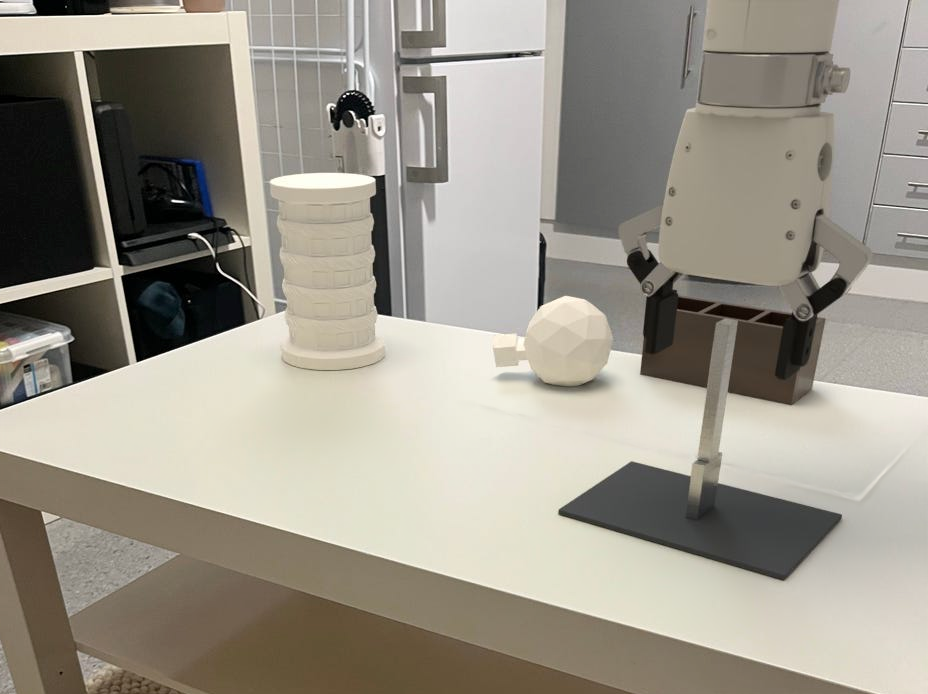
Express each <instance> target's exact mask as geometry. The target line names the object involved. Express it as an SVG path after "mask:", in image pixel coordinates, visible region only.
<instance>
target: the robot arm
mask: <svg viewBox="0 0 928 694" xmlns="http://www.w3.org/2000/svg"><path fill="white" fill-rule="evenodd" d="M839 4H840V0H707V5H706V12H705V22H704V29H703V30H704V31H703V38H702V39H703V40H702V48H701V56H700V65H699V75H698V82H697V92H696V102H695V107H692V108H688V109H686V111H685V114H684V117H683V120H682V124H681V127H680V130H679V133H678V137H677V140H676V144H675V148H674V151H673V154H672V159H671V163H670V168H669V174H668V178H667V182H666V186H665V187H666V188H665V193H664V197H663V203H661V204H659V205H657V206H654V207H653V208H650V209H649V210H646V211H644V212H642V213H640V214H638V215H636V216H634V217H631V218H629V219H627V220H625V221H623V222H621V223H619V226H618V227H617V233H618V236H619V239H620V242H621V245H622V248H623V251H624V254H626V257H627V258H626V264H627V267H628V268H629V270H630V271H631V273H632V274H633V276H634V278H636V280H637V282H638V283H639V289H640V292H641V294H642V295H643V296H645V297H646V299H645V308H644V319H643V329H642V336H643V339H644V338H646V348H645V352H646V354H651V355H654V354H656V353H658V352H660V351H662V350H664V349H666V348H668V347H670V346H671V345H672V344H673V338H674V330H675V321H676V312H677V304H678V295H679V293H678V289H674V284H675V283H676V282H677V281H678V280H679V279H680V277H682V276H683V275H688V276H689V275H690V276H697V277H703V278H708V279H717V280H722V281H723V280H724V281H731V282H736V283H737V282H738V283H743V284H751V285H757V286H758V285H760V286H765V287H766V286H768V287H778V289H779V290H780V293H781V294H782V296H783V298H784V299H785V301H786V303H787V305H788V307H789V308H790V310H791V313H792V315H791V317H790V318H788V319H787V320H785V322H784V325H783V330H782V336H781V342H780V347H779V353H778V359H777V365H776V371H775V376H776V377H777V379H781V380H786V379H788V378H789V377H791V376H792V375H794V374H795V373H796V372H798V371H799V370H800V368H801V367H803V366H805V365H806V364H807V362H808V360H809V357H810V352H811V347H812V342H813V337H814V331H815V326H816V321H817V317H818V315H819V314H820V313H822V312H823V311H824V310H826V309H827V308H828V307H830V306H831V305H832V304H834V303H835V302H836V301H838V300H839V299H841V298H842V297H843V296H845V295H846V294H847V293H849V292H850V290H851V288H852V287H853V286H854V284H855V283H856V282H857V281H858V279H859V278H860V277H861V275H862V274H863V272H864V271H865V270H866V269H867V267H869V265H870V263H871V262H872V261H873V259H874V252H873V250H872V249H871V248H870V247H868V246H867V245H866V244H864V243H863V242H861V241H860V240H858V239H857V238H856V237H855V236H853V235H852V234H851V233H849V232H848V231H846V230H845V229H843V228H842V226H840V225H839V224H837V223H836V222H834V221H833V220H832V219H830V218H829V216H830V215H829V214H830V204H831V196H832V195H831V194H832V185H833V184H832V183H833V172H834V170H833V169H834V154H835V150H834V149H835V117H834V116H835V115H834V113H833V112H829V111H821V107H822V104H823V103H825V102H826V99H827V97H828V96H832V95H833V94H845V93H846V91H847V89H848V87H849V84H850V79H851V69H850V67H840V66H838V64H834V61H833V60H834V59H833V58H834V53H831V52H830V51H831V50H832V44H833V40H834V39H833V38H834V33H835V27H836V21H837V15H838V10H839ZM657 228H659V233H658V234H659V235H658V260H659V261H658V260H657V258H656V257H655V255H654V254H653V252H652V251H651V250H650V249H649V248H648V242H647V234H648V233H649V232H651V231H653V230H655V229H657ZM824 250H825V251H826V252H828V253H829V254H831V255H832V256H833V257H834V258H835V259H837V260H838V264H839V265H838V268H837V269H836V271H835V273H834V274H833V276H832V277H831V278H830V280H829V281H827V282H825V284H823V285H822V286H821V287H820V286H819V283H818V281H817V280H816V278H815V276H814V274H813V272H815V271H816V270H817V269H818V268H819V267H820V264H821V263H822V258H823V255H824Z"/></svg>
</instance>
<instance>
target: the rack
mask: <svg viewBox="0 0 928 694" xmlns="http://www.w3.org/2000/svg"><path fill="white" fill-rule="evenodd" d="M791 315H792V312H789V311H788V312H787V311H781V310H775V309H769V308H762V307H756V306H751V305H743V304H738V303H737V304H736V303H730V302H725V301H718V300H711V299H704V298H699V297H691V296H685V295H679V294H678V304H677V312H676V321H675V330H674V338H673V344H672V345H671V346H670V347H668V348H666V349H664V350H662V351H660V352H658V353H656V354H654V355H651V354H646V352H645V348H646V338H644V337H643V342H642V350H641V351H642V352H641V362H640V372H639V375H641V376H645V377H649V378H655V379H659V380H664V381H670V382H674V383H679V384H684V385H689V386H694V387H697V388H703V389H707V385H708V377H709V370H710V363H711V355H712V348H713V341H714V333H715V326H716V323H718V322H720V321H721V320H723V319H731V320H737V321H738V324H737V331H736V338H735V344H734V351H733V358H732V365H731V371H730V378H729V385H728V392H727V394H728V393H729V394H733V395H738V396H743V397H746V398H747V397H748V398H753V399H758V400H762V401H768V402H772V403H776V404H783V405H787V406H792V405H794V404H795V403H797V402H798V401H799V400H801V399H802V398H804V396H806V395H807V394H809V392H811V391H812V390H813V387H814V382H815V375H816V372H817V366H818V360H819V355H820V351H821V345H822V339H823V336H824V335H823V334H824V330H825V325H826V318H825V317H819V316H817V321H816V326H815V331H814V337H813V342H812V347H811V352H810V357H809V360H808V362H807V364H806V365H805V366H803V367H801V368H800V370H799V371H798V372H796V373H795V374H794V375H792V376H791V377H789V378H788V379H786V380H781V379H777V377H776V376H775V371H776V365H777V359H778V353H779V347H780V342H781V336H782V330H783V325H784V322H785V320H787V319H788V318H790V317H791Z"/></svg>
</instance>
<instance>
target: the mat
mask: <svg viewBox="0 0 928 694" xmlns="http://www.w3.org/2000/svg"><path fill="white" fill-rule="evenodd" d="M690 479H691V475H688V474H684V473H680V472H676V471H673V470H669V469H664V468H661V467H656V466H653V465H648V464H644V463H640V462H636V461H633V460H632V461H631V460H630V462H628V463H627V464H625V465H623V466H622V467H620V468H619V469H617V470H616V471H614V472H613V473H611V474H610V475H608V476H606V477H605V478H604V479H602V480H601V481H599V482H598V483H596V484H595V485H594V486H592V487H590V488H589V489H587V490H586V491H584V492H583V493H581V494H580V495H578V496H577V497H575V498H574V499H572V500H570V501H568V503H565V505H563V506H561V507H560V508H559V509H558V511H557V512H558V515H560V516H564V517H568V518H571V519H574V520H576V521H577V520H578V521H581V522H584V523H588V524H591V525H595V526H597V527H602V528H604V529H608V530H612V531H615V532H618V533H622V534H625V535H629V536H632V537H636V538H639V539H643V540H646V541H649V542H653V543H655V544H659V545H663V546H667V547H669V548H673V549H676V550H679V551H683V552H686V553H690V554H693V555H697V556H700V557H704V558H707V559H709V560H710V559H711V560H714V561H717V562H720V563H724V564H727V565H730V566H734V567H738V568H740V569H745V570H748V571H751V572H754V573H757V574H761V575H766V576H768V577H772V578H775V579H778V580H781V581H785V580H786V578H788V576H789V575H790V574H791V573H793V571H794V570H795V569H796V568H797V567H798V566H799V565H800V564H801V563H802V562H803V560H805V558H806V557H807V556H808V555H809V554H810V553H811V552H812V551H813V550H814V549H815V548H816V547H817V546H818V545H819V543H820V542H821V541H823V540H824V538H825V537H826V536H827V535H828V534H829V533H830V532H831V530H833V528H834V527H835V526H837V524H838V523H839V522H840V521H842V519H843V518H842V517H843V514H842V513H838V512H835V511H831V510H830V511H829V510H827V509H822V508H818V507H815V506H811V505H808V504H807V505H806V504H802V503H798V502H796V501H795V502H794V501H790V500H787V499H783V498H779V497H776V496H771V495H767V494H763V493H760V492H755V491H751V490H749V489H748V490H747V489H742V488H739V487H735V486H731V485H728V484H723V483H720V482H718V486H717V493H716V500H715V506H714V507H713V508H712V509H710V510H709V511H708V512H707V513H706V514H704V515H703V516H702V517H701V518H699V519H698V520H694V519H690V518H686V517H685V516H686V508H687V501H688V494H689V486H690Z"/></svg>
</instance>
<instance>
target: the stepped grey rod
mask: <svg viewBox="0 0 928 694" xmlns="http://www.w3.org/2000/svg"><path fill="white" fill-rule="evenodd" d="M737 324H738V321H737V320H731V319H723V320H721V321H720V322H718V323H716V326H715V333H714V341H713V348H712V355H711V363H710V370H709V377H708V385H707V388H706V393H705V400H704V408H703V413H702V423H701V428H700V436H699V437H700V438H699V444H698V451H697V459H696V460H694V462H692V464H691V471H690V476H691V479H690V486H689V494H688V501H687V508H686V516H685V517H686V518H690V519H694V520H698V519H699V518H701V517H702V516H703V515H704V514H706V513H707V512H708V511H709V510H710V509H712V508H713V507H714V506H715V500H716V493H717V486H718V483H719V481H720V480H719V479H720V472H721V464H722V459H723V452H720V446H721V438H722V432H723V426H724V425H723V424H724V419H725V411H726V406H727V405H726V404H727V398H728V385H729V378H730V371H731V365H732V358H733V351H734V344H735V338H736V331H737Z"/></svg>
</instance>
